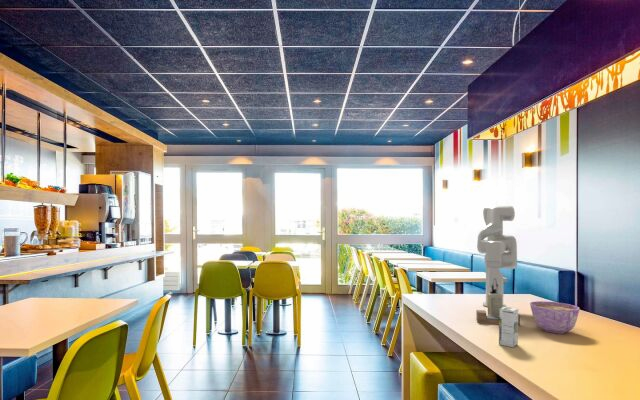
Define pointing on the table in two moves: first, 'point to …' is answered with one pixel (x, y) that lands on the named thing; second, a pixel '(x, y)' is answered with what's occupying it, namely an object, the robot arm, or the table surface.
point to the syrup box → (508, 326)
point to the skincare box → (494, 304)
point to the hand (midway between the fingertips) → (493, 300)
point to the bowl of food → (554, 316)
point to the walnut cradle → (489, 318)
